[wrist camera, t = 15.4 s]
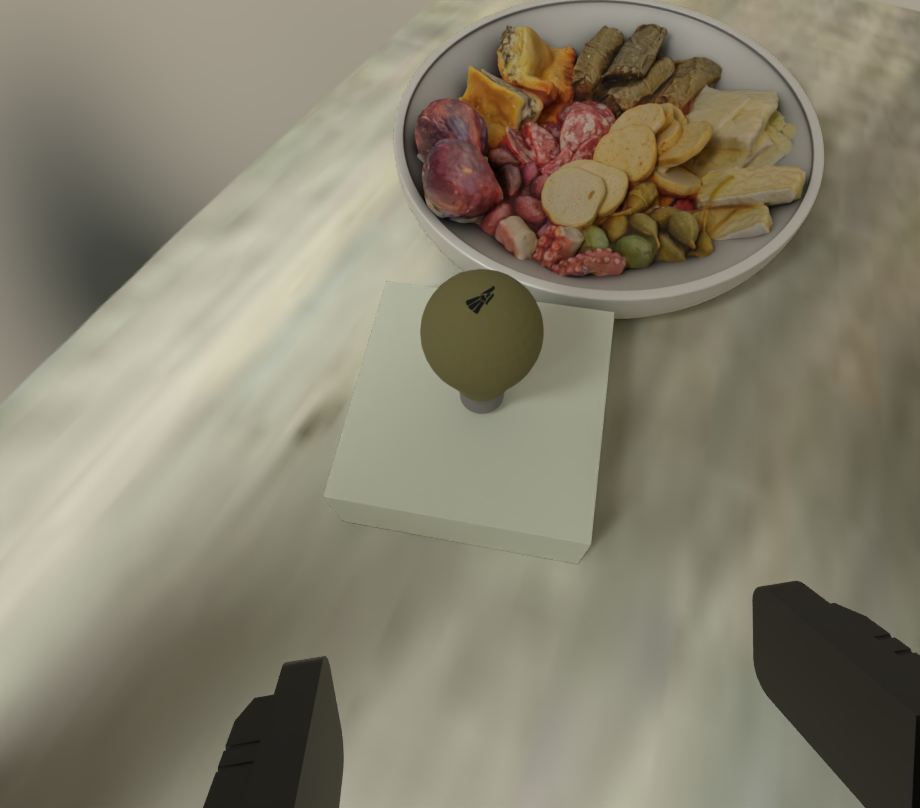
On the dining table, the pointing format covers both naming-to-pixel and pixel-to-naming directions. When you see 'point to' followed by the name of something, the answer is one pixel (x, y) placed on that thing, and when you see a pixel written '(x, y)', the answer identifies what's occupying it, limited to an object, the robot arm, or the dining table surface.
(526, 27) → the bowl
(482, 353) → the light bulb
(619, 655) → the dining table surface
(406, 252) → the dining table surface
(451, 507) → the block
